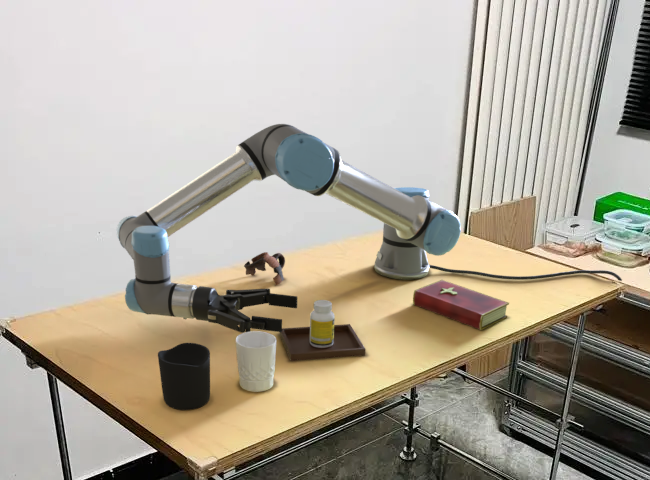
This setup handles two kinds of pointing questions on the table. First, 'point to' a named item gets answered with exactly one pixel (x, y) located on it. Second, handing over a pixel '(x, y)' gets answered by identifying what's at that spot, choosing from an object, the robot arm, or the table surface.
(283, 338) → the tray
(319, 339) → the supplement bottle
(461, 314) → the hardcover book
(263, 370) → the white cup
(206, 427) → the table surface
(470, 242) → the table surface
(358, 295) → the table surface
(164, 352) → the pen holder
